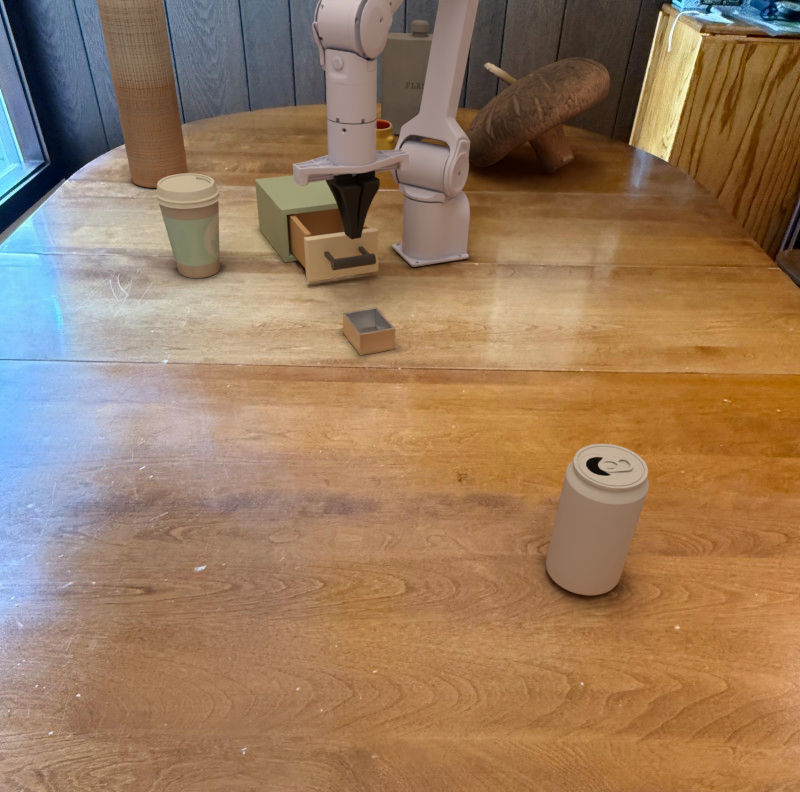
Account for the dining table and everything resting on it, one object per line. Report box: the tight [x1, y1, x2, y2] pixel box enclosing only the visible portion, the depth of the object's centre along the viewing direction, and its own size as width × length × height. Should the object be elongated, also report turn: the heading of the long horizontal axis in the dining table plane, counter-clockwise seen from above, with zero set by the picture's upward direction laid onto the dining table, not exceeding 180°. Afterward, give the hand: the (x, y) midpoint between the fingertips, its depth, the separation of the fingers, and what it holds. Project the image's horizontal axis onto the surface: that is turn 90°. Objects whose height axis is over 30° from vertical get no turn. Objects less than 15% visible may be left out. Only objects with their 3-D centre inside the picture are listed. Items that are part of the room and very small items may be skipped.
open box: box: [342, 306, 396, 356], centre depth 96 cm, size 5×6×3 cm
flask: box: [380, 19, 433, 136], centre depth 158 cm, size 15×6×20 cm, turn 92°
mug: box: [376, 118, 397, 150], centre depth 149 cm, size 12×7×7 cm, turn 3°
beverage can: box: [545, 443, 650, 596], centre depth 63 cm, size 6×6×12 cm
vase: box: [96, 0, 189, 189], centre depth 129 cm, size 10×10×28 cm
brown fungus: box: [465, 56, 611, 174], centre depth 143 cm, size 28×23×25 cm
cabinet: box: [254, 174, 338, 263], centre depth 117 cm, size 14×12×8 cm
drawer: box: [287, 209, 380, 283], centre depth 109 cm, size 17×10×6 cm, turn 23°
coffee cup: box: [155, 172, 222, 279], centre depth 107 cm, size 8×8×12 cm
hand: (353, 235), depth 98 cm, fingers closed
